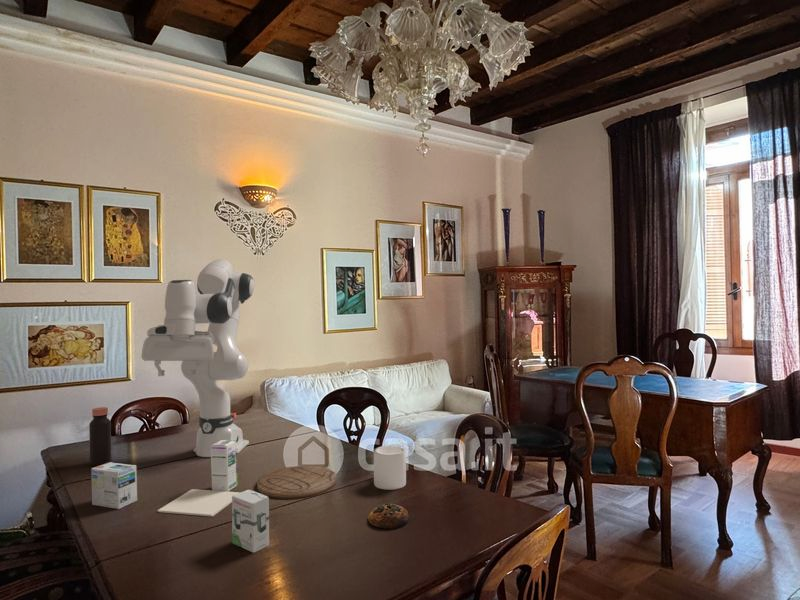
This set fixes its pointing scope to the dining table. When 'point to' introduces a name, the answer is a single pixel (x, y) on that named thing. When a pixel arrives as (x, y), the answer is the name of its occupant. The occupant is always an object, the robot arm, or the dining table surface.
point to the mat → (199, 502)
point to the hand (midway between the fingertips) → (178, 375)
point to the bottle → (100, 437)
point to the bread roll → (388, 516)
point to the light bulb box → (114, 485)
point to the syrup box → (224, 465)
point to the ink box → (250, 520)
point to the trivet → (296, 482)
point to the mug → (389, 467)
